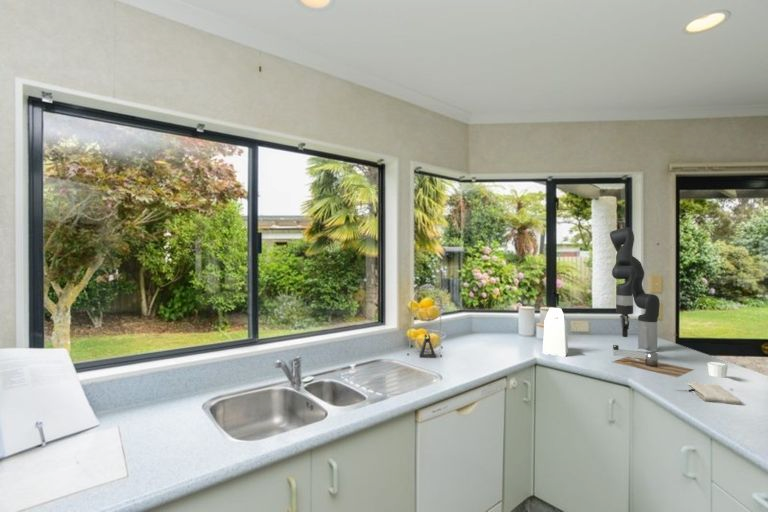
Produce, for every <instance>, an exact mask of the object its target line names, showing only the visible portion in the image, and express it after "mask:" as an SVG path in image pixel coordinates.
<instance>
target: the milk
mask: <svg viewBox="0 0 768 512" xmlns="http://www.w3.org/2000/svg"><path fill="white" fill-rule="evenodd" d="M542 339H543V340H542V341H543V343H542V354H543V353H544V354H543V355H548V354H551V355H550V356H555V355H559V356H558V357H563V356H566V355H568V354H569V344H568V343H569V342H568V341H569V340H568V323H567V318H566V316H565V313H564V312H563V309H562V307H561V308H560V307H549V309H548V311H547V313H546V315H545V318H544V323H543V338H542ZM567 353H568V354H567ZM566 357H567V356H566Z"/></svg>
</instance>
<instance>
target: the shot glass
mask: <svg viewBox="0 0 768 512" xmlns="http://www.w3.org/2000/svg"><path fill="white" fill-rule="evenodd" d="M706 363H707V371H708V376H711V377H714V378H721V379H722V378H723V379H725V378H727V372H728V364H726V363H723V362H717V361H708V362H706Z"/></svg>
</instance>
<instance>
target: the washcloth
mask: <svg viewBox="0 0 768 512" xmlns="http://www.w3.org/2000/svg"><path fill="white" fill-rule="evenodd" d="M687 385H688V386H689V387H692V388H690V389H691V390H690V392H692V391H694V392H695V393H696V394H695V395H696V396H697V397H698V396H699V397H698V398H699V399H700V400H702V401H704V402H710V403H719V404H727V405H736V406H737V405H738V406H740V405H742V401H741V400H740V399H739V398H738V397H737V396H735V395H733V393H731V392H729V390H727V389H724V388H723V387H722V386H721V385H718V384H709V383H708V384H707V383H706V384H705V383H700V382H691V381H690V382H689V381H688V382H687Z"/></svg>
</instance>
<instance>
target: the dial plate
mask: <svg viewBox="0 0 768 512" xmlns="http://www.w3.org/2000/svg"><path fill="white" fill-rule="evenodd" d="M612 363H613V364H618V365H622V366H628V367H632V368H636V369H640V370H643V371H644V370H645V371H647V372H652V373H657V374H661V375H665V376H670V377H674V378H679V377H681V376H683V375H686V374H687V373H690V372H692V371H694V370H695V369H694V368H688V367H684V366H681V365H680V366H679V365H674V364H670V363H666V362H665V363H664V362H661V361H658V366H656V367H654V366H648V365H645V359H643V358H633V357H621V358H620V359H617V360H614V361H612Z"/></svg>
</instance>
